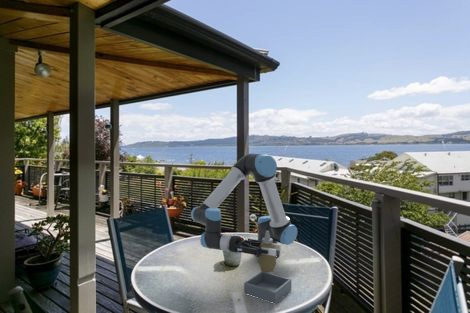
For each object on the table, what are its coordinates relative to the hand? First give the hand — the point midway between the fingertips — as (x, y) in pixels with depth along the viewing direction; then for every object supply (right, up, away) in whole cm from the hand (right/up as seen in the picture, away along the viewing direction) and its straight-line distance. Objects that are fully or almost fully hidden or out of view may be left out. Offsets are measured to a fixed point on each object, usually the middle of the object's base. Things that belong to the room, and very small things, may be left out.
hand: (278, 250), depth 138 cm
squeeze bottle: (-5, -10, +3) cm, 11 cm away
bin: (-4, -20, +3) cm, 20 cm away
